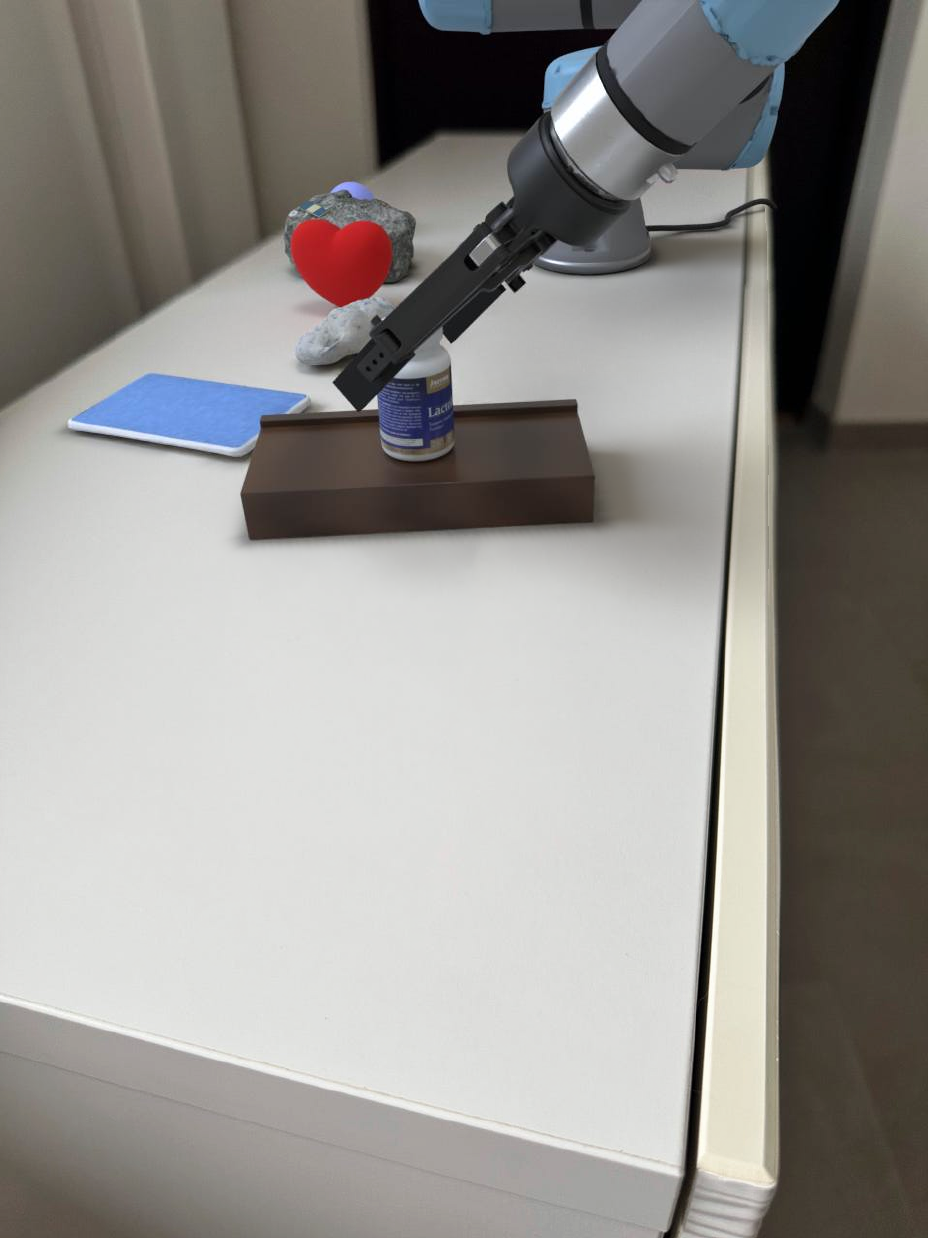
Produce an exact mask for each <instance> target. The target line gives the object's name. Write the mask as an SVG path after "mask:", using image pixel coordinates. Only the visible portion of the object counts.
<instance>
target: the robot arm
mask: <svg viewBox="0 0 928 1238" xmlns="http://www.w3.org/2000/svg"><path fill="white" fill-rule="evenodd" d="M839 2H840V0H418V4H419V8H420V10H421V13H422V15H423V17H424V18H425V20H426V21H427V23H428V24H429V25H430V26H431V27H432V28H434V29H436V30H438V31H445V32H446V31H447V32H469V33H470V32H471V33H473V32H474V33H480V34H481V35H484V36H485V35H490V34H491V33H506V32H507V33H509V32H534V31H535V32H537V31H558V30H613V29H616V30H615V32H614V33H613V34H612V35H611V37H610V38H609V39H607V40H606V42H605V43H604V44H602V45H600V46H595V47H589V48H585V49H581V50H577V51H574V52H570V53H567V54H564V55H562V56H559V57H557V58H556V59H553V61H552V62H551V63H549V65H548V66H547V68H546V71H545V73H544V74H545V75H544V90H543V101H542V103H541V108H542V109H543V113H542V114H541V116H539V118H538V119H537V120H536V121H535V122H534V124H533V125H532V126H530V128H529V129H528V130H527V132H526V133H525V134H524V135H523V136H522V137H521V138H520V139H519V140H518V142H517V143H516V144H515V145H514V146H513V148H512V149H511V150H510V151H509V152H510V153H509V154H508V157H507V161H506V172H507V178H508V181H509V184H510V185H511V189H512V193H513V196H512V197H511V198H510V199H509V200H508V201H507V202H506V203H505V202H504V201H503V200H502V201H501V202H499V203H498V204H497V205H496V206H495V207H493V209H491V210H490V211H489V212H488V213H487V214H486V216H485V218H484V221H482V222H480V223H478V224H476V225H475V226H474V228H472V231H471V233H470V234H469V235H468V236H467V237H466V238H465V239H464V240H463V241H462V242H461V243H460V244H459V245H458V246H457V247H456V249H455V250H454V251H453V252H452V253H451V254H449V256H447V257H446V258H445V259H444V260H443V261H442V262H441V263H440V264H439V265H438V266H437V267H436V268H435V269H433V271H432V272H431V273H430V274H429V275H428V276H427V277H426V278H425V279H423V281H422V282H420V284H418V286H416V288H415V289H413V290H412V291H411V292H410V293H409V294H408V295H407V296H406V297H405V298H404V299H402V301H401V302H400V303H399V304H398V305H396V306H395V309H394V310H393V311H392V312H391V313H390V314H389V315H388V316H387V317H386V318H385V319H383V320H381V319H380V317H379V316H378V315H376V316H375V317H374V318H373V319H372V320H371V323H372V324H373V326H374V327H373V328H372V330H371V331H370V334H369V335H370V337H371V338H372V339H371V340H370V341H369V342H368V343H367V344H366V345H365V346H364V347H363V349H362V350H361V351H360V352H359V353H356V354H355V356H354V357H353V358H352V359H351V361H350V362H349V363H348V364H347V365H346V366H345V368H344V369H343V370H341V372H340V373H339V374H338V376H336V378H335V379H334V380H332V381H331V382H332V384H333V386H334V387H336V389H337V390H338V392H340V393H341V395H342V396H343V397H344V398H345V399H346V401H348V403H349V404H350V405H351V406H352V407H353V408H354V409H355V410H357V412H360V411H361V410H365V408H366V407H367V406H368V405H369V404H370V403H371V402H372V400H374V399H375V397H377V394H378V393H379V392H380V391H381V390H382V389H383V388H384V387H385V386H386V385H387V384H388V383H389V382H390V381H391V380H392V379H393V378H394V377H395V376H396V375H397V374H398V373H399V372H400V370H401V369H402V368H403V367H404V366H405V365H406V364H407V363H408V362H409V361H410V360H411V359H412V358H413V357H414V356H415V355H416V354H415V353H414V351H415V350H416V349H418V348H419V347H420V346H421V345H422V344H423V343H424V342H425V341H426V340H428V339H429V338H430V337H431V336H432V335H433V334H434V333H435V332H436V331H438V330H439V329H440V328H441V327H442V328H443V337H445V339H446V340H447V341H448V342H449V343H450V344H453V343H454V342H456V341H457V340H458V339H459V338H460V337H461V336H462V335H463V334H464V333H465V332H466V331H467V330H468V329H469V328H470V327H471V326H472V325H473V324H474V322H476V321H477V320H478V319H479V318H480V317H481V316H482V315H483V314H484V312H486V311H487V310H488V308H490V307H491V306H492V305H493V303H495V302H496V301H497V300H498V299H499V298H500V297H501V296H502V295H503V294H504V293H505V292H506V291H507V288H506V287H505V286H504V284H503V283H505V284H506V286H508V288H509V289H510V290H511V291H512V293H513V294H516V293H517V292H518V291H520V289H521V288H523V287H525V285H526V283H527V282H526V280H525V279H524V278H523V277H522V275H521V274H522V273H525V272H527V271H528V272H529V271H530V270H531V269H533V267H534V265H536V266H538V267H540V268H543V269H545V270H549V271H552V272H556V273H557V272H559V273H564V274H573V275H574V274H575V275H576V274H577V275H596V274H598V275H599V274H609V273H615V272H621V271H622V272H623V271H626V270H631V269H633V268H636V267H639V266H641V265H642V264H644V263H646V262H647V261H648V260H649V259H650V258H651V257H650V256H651V245H652V244H651V235H650V233H651V232H653V233H654V232H684V231H705V230H706V231H707V230H714V229H719V228H723V227H725V226H727V225H729V223H730V222H731V219H732V217H735V216H736V215H738V214H740V213H742V212H744V211H746V210H747V209H750V208H752V207H755V206H759V205H765V206H767V207H769V208H770V209H771V210H777V209H778V206H777V204H776V203H775V202H774V201H773V200H771V199H769V198H761V197H760V198H756V199H752V200H750V201H747V202H745V203H743V204H741V205H739V206H736V207H735V208H734V209H730V210H729V211H727V212H726V214H725V216H724V219H722V220H719V221H717V222H716V221H715V222H708V223H707V222H706V223H691V224H689V223H688V224H652V225H651V224H650V225H646V220H645V215H644V208H643V204H642V200H641V197H642V196H644V194H645V193H646V192H647V191H648V190H650V189H651V187H653V186H654V185H655V184H656V182H658V180H659V179H660V180H662V182H663V183H665V184H672V183H673V182H674V181H675V180H676V179H677V176H678V175H679V170H695V171H696V170H698V171H699V170H701V171H702V170H703V171H704V170H705V171H706V170H707V171H723V172H725V171H726V172H727V171H730V170H737V169H751V168H753V167H755V166H757V165H759V164H760V162H762V161H763V159H764V158H765V157H766V155H767V153H768V150H769V148H770V146H771V143H772V140H773V136H774V133H775V129H776V125H777V120H778V115H779V114H778V111H779V109H780V105H781V103H782V102H781V101H782V97H783V90H784V82H785V74H786V73H785V72H786V71H785V69H786V68H785V66H786V65H785V62H787V61H789V60H790V59H791V57H794V56H795V55H796V54H798V52H799V51H800V50H801V49H802V47H803V46H804V44H805V42H806V40H807V39H808V38H809V37H810V36H811V34H812V33H814V31H815V30H816V29H817V28H818V27H819V26H820V25H821V24H822V23H823V21H824V20H825V19H826V18H827V17H828V16H829V15H830V14H831V13H832V12H833V10H835V8H836V7H837V6H838V4H839Z"/></svg>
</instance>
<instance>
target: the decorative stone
mask: <svg viewBox="0 0 928 1238" xmlns="http://www.w3.org/2000/svg"><path fill="white" fill-rule="evenodd" d="M395 308H396V306H394V304H393V303H392V302H391V301H389V300H385V299H384V298H383V297H379V296H371V297H370V298H369V299H368V298H367V299H363V300H358V301H356V302H352V303H350V304H348V305H346V306H344V307H341V308H340V307H338V306H337V307H335V308H333V309H332V310H331V311H330V312H329V313H328V315H327V316H326V317H325V318H324V320H323V321H322V322H320V324H318V325H317V326H316V327H315V329H313V330H312V331H310V332H307V333H305V334H304V335H302V336H301V337H299V339H298V341H297V345H296V347H295V358H296V359H297V361H299V362H300V363H303V364H308V365H312V366H320V365H321V366H322V365H323V366H325V365H332V364H336V363H338V362H339V361H340V360H341V359H343V358H344V357H346V356H350V355H357V354H358V353H359V352H360V351H361V350H362V349H363V347H364V346H365V345H366V344H367V343H368V342H369V341H370V340H371V339H372V338H371V337H370V335H369V334H370V331H371V330H372V328H373V327H374V326H373V324H372V323H371V320H372V319H373V318H374V317H375V316H376V315H378V316H379V317H380V319H383V318H385V317H387V316H388V315H389V314H390V313H391V312H392V311H393V310H394V309H395Z"/></svg>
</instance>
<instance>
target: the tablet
mask: <svg viewBox="0 0 928 1238" xmlns="http://www.w3.org/2000/svg"><path fill="white" fill-rule="evenodd" d="M311 404H312V399H311V397H310V395H308V394H305V393H298V392H292V391H286V390H285V391H284V390H279V389H278V390H277V389H269V388H262V387H255V386H249V385H248V386H247V385H242V384H241V385H240V384H233V383H227V382H220V381H213V380H212V381H211V380H206V379H200V378H190V377H184V376H177V375H170V374H163V373H156V372H149V373H146V374H144V375H142V376H140V377H139V378H137V379H135V380H134V381H131V382H130V383H129V384H127V385H125V386H124V387H121V388H120V389H117V391H114V393H111V394H110V395H108V396H107V397H105V398H103V399H101V400H100V401H98V402H96V403H95V404H93V405H91V406H89V407H88V408H86V409H84V410H83V411H81V412H80V413H78V414H76V415H74V416H73V417H71V418H70V419H68V421H67V427H68V429H69V430H71V431H78V432H87V433H93V434H100V435H108V436H114V437H119V438H126V439H132V440H138V441H144V442H148V443H149V442H150V443H155V444H161V445H168V446H174V447H180V448H187V449H192V450H198V451H202V452H207V453H214V454H219V455H224V456H228V457H234V458H235V457H236V458H238V457H239V458H240V457H243V456H246V455H247V454H249V453H251V452H253V451H254V448H255V445H256V442H257V438H258V435H259V432H260V429H261V427H260V418H261V416H262V415H275V414H295V413H303V411H304V410H306V409H307V408H308V407H309V406H311Z"/></svg>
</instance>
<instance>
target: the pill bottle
mask: <svg viewBox="0 0 928 1238" xmlns="http://www.w3.org/2000/svg"><path fill="white" fill-rule="evenodd" d="M385 318H386V317H385ZM385 318H383V319H385ZM383 319H381V320H383ZM443 338H444V335H443V328H442V327H441V328H440V329H439V330H438V331H436V332H435V333H434V334H433V335H432V336H431V337H430V338H429V339H428V340H426V341H425V342H424V343H423V344H422V345H421V346H420V347H419V348H418V349H416V350H415V351H414V353H415V354H416V355H415V356H414V357H413V358H412V359H411V360H410V361H409V362H408V363H407V364H406V365H405V366H404V367H403V368H402V369H401V370H400V372H399V373H398V374H397V375H396V376H395V377H394V378H393V379H392V380H391V381H390V382H389V383H388V384H387V385H386V386H385V387H384V388H383V389H382V390H381V391H380V392H379V393H378V394H377V395H376V399H377V400H376V401H377V409H378V412H379V424H380V434H381V443H382V447H383V449H384V451H385V452H386V453H387V454H388V455H389V456H391V457H393V458H396V459H399V460H404V461H427V460H432V459H435V458H438V457H440V456H443V455H444V454H446V453H447V452H449V451H450V450H451V449H452V447H453V445H454V442H455V433H454V413H453V405H454V399H453V398H454V396H453V395H454V394H453V378H452V376H453V375H452V359H451V356H450V353H449V351H448V350H447V348H445V347H444V346H443V345H441V341H442V340H443Z"/></svg>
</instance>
